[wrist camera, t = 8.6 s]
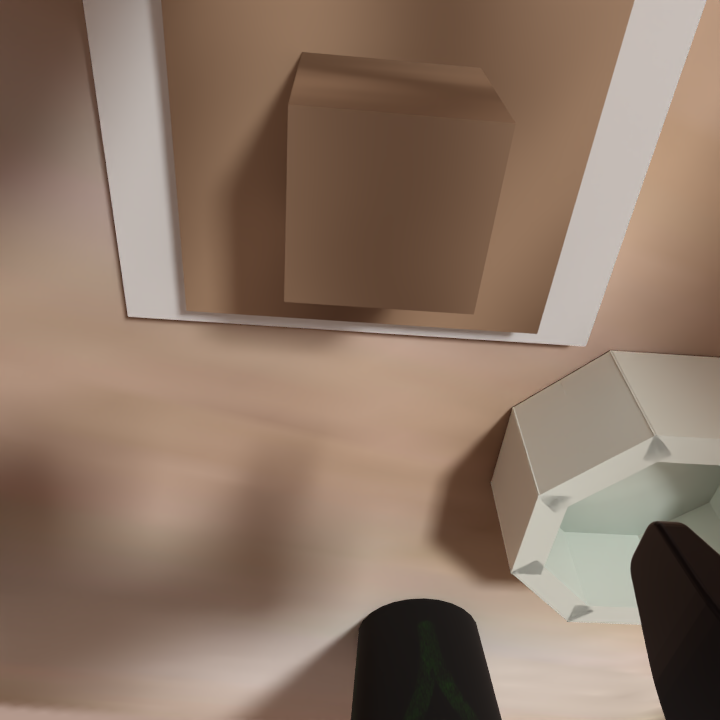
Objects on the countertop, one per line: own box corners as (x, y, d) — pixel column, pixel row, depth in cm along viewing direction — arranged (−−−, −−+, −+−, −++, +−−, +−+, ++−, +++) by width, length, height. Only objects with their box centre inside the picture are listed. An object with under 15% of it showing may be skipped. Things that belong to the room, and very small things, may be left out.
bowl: (477, 528, 27) (494, 619, 24) (529, 344, 22) (561, 428, 18) (695, 539, 27) (741, 629, 24) (800, 362, 22) (876, 447, 19)
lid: (193, 292, 20) (152, 403, 16) (162, -131, 14) (83, -127, 10) (529, 315, 20) (573, 427, 16) (640, -82, 14) (753, -60, 10)
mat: (133, 306, 21) (127, 316, 20) (64, -203, 13) (53, -206, 13) (580, 335, 21) (586, 346, 21) (738, -130, 14) (751, -130, 14)
